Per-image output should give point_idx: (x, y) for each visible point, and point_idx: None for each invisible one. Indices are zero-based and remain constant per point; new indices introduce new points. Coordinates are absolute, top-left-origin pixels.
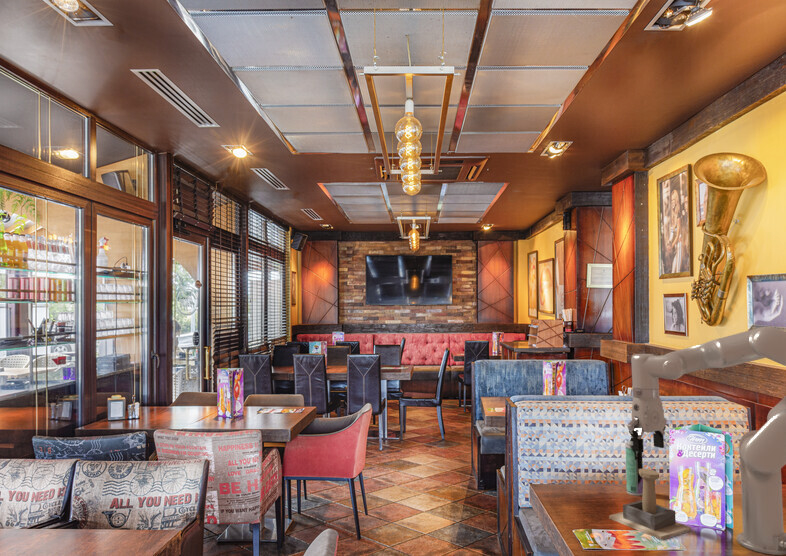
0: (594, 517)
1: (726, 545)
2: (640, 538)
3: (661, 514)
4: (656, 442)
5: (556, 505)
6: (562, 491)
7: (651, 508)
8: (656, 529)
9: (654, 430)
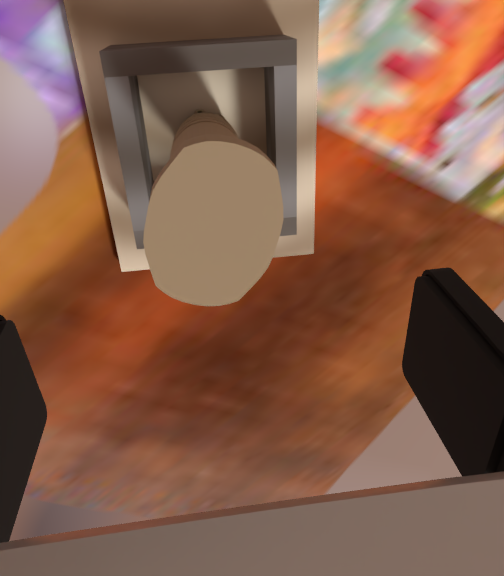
0: (351, 277)
1: None
2: (383, 27)
3: (227, 46)
4: (20, 425)
5: (373, 398)
6: (247, 479)
7: (225, 122)
8: (268, 35)
9: (321, 511)
